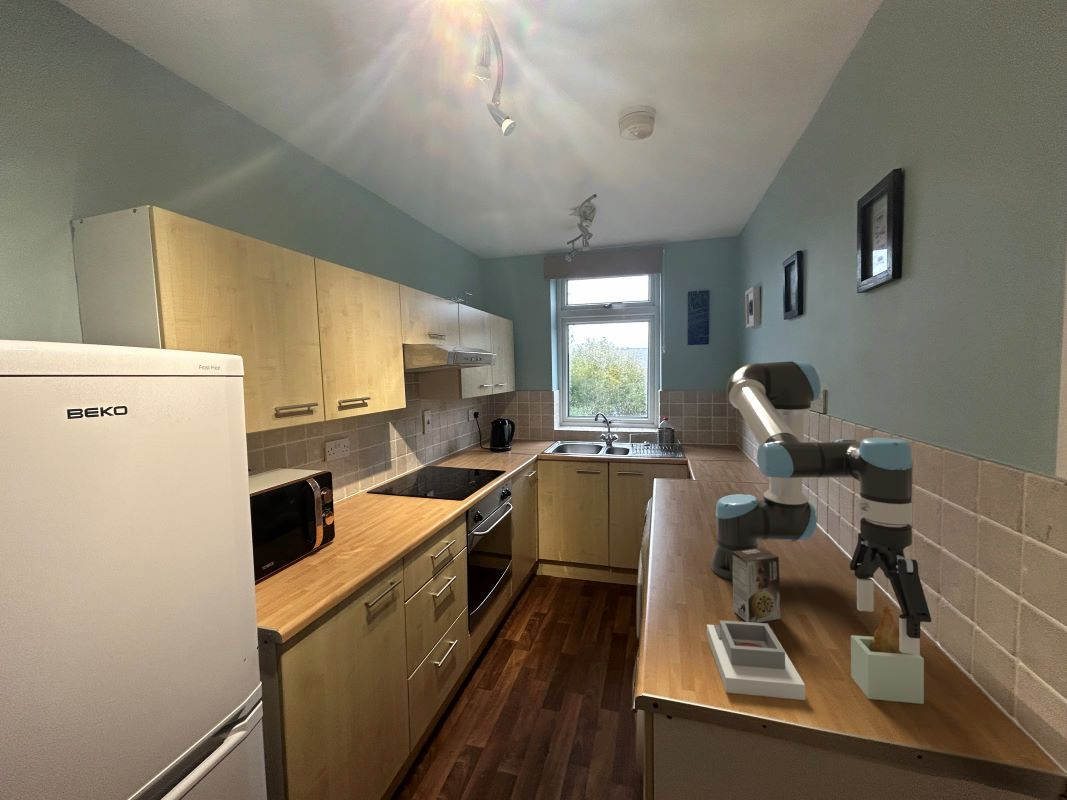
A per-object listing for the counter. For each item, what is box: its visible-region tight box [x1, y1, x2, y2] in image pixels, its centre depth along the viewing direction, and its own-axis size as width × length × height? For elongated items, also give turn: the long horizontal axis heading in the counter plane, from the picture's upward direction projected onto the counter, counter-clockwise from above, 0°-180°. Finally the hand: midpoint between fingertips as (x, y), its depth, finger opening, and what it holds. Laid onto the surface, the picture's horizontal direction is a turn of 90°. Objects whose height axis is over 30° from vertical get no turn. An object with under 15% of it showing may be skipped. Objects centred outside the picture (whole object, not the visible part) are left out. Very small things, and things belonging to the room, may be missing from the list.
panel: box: [706, 619, 806, 701], centre depth 90 cm, size 18×14×6 cm
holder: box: [850, 634, 925, 705], centre depth 82 cm, size 6×9×9 cm, turn 79°
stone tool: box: [871, 605, 902, 654], centre depth 82 cm, size 5×2×15 cm, turn 84°
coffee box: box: [732, 547, 782, 623], centre depth 108 cm, size 9×6×16 cm
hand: (885, 629), depth 81 cm, fingers open, 13 cm apart
